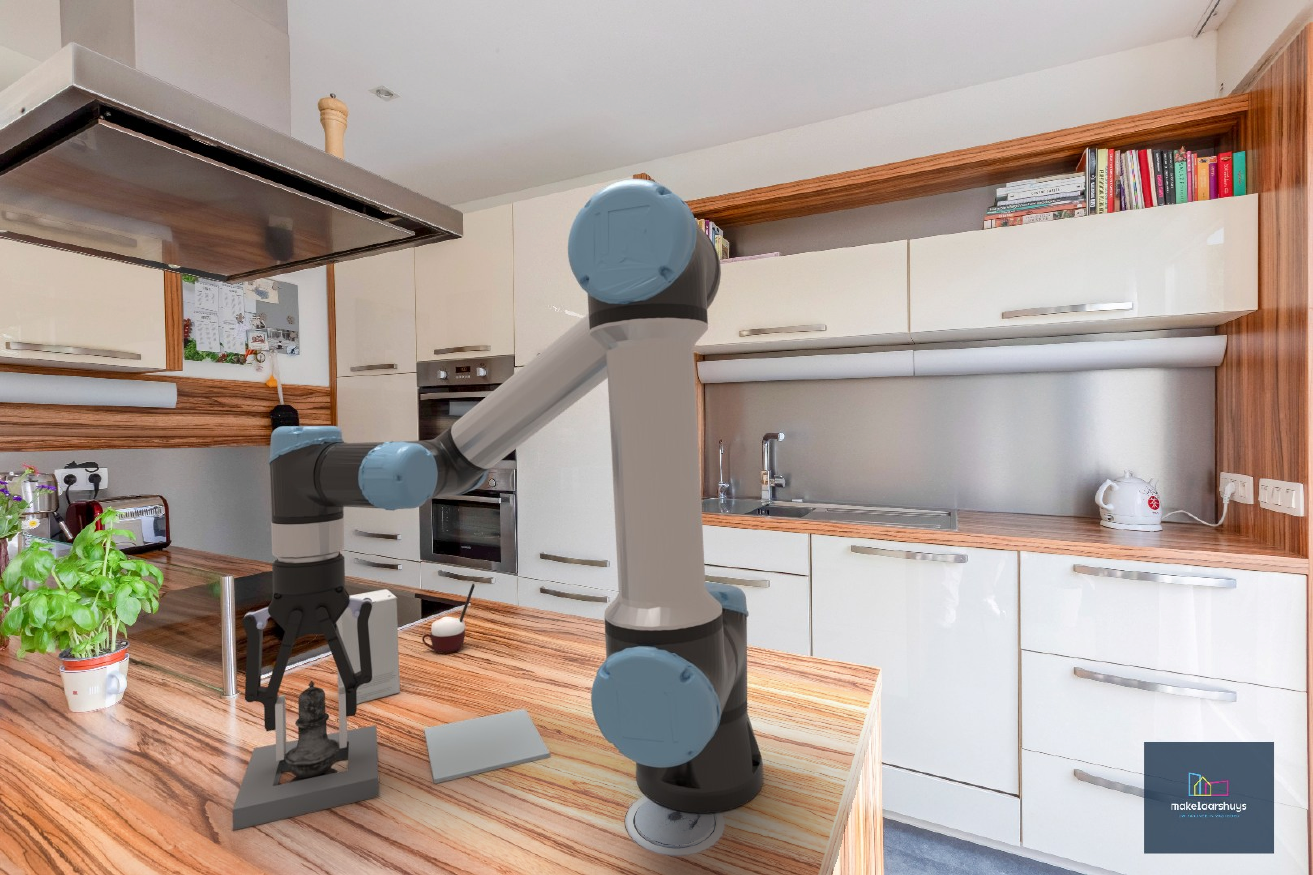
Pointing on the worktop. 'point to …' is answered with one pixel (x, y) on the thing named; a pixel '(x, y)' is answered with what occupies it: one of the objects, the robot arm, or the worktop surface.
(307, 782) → the grey square frame
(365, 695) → the skincare box
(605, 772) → the worktop surface
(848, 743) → the worktop surface
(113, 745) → the worktop surface
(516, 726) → the mat
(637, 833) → the worktop surface
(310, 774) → the salt shaker
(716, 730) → the robot arm
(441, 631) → the cocoa
